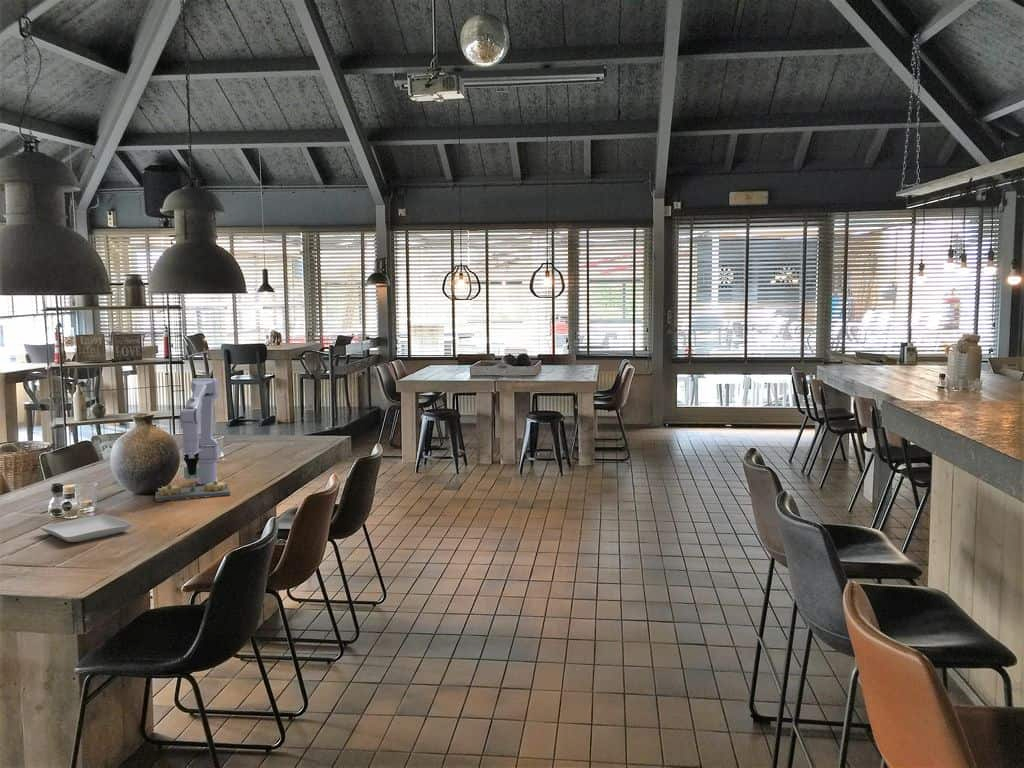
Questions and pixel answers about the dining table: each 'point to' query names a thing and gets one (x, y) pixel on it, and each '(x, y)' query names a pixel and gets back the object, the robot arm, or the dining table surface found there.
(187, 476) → the teal gear
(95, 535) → the salad plate
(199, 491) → the gear board
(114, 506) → the dining table surface
